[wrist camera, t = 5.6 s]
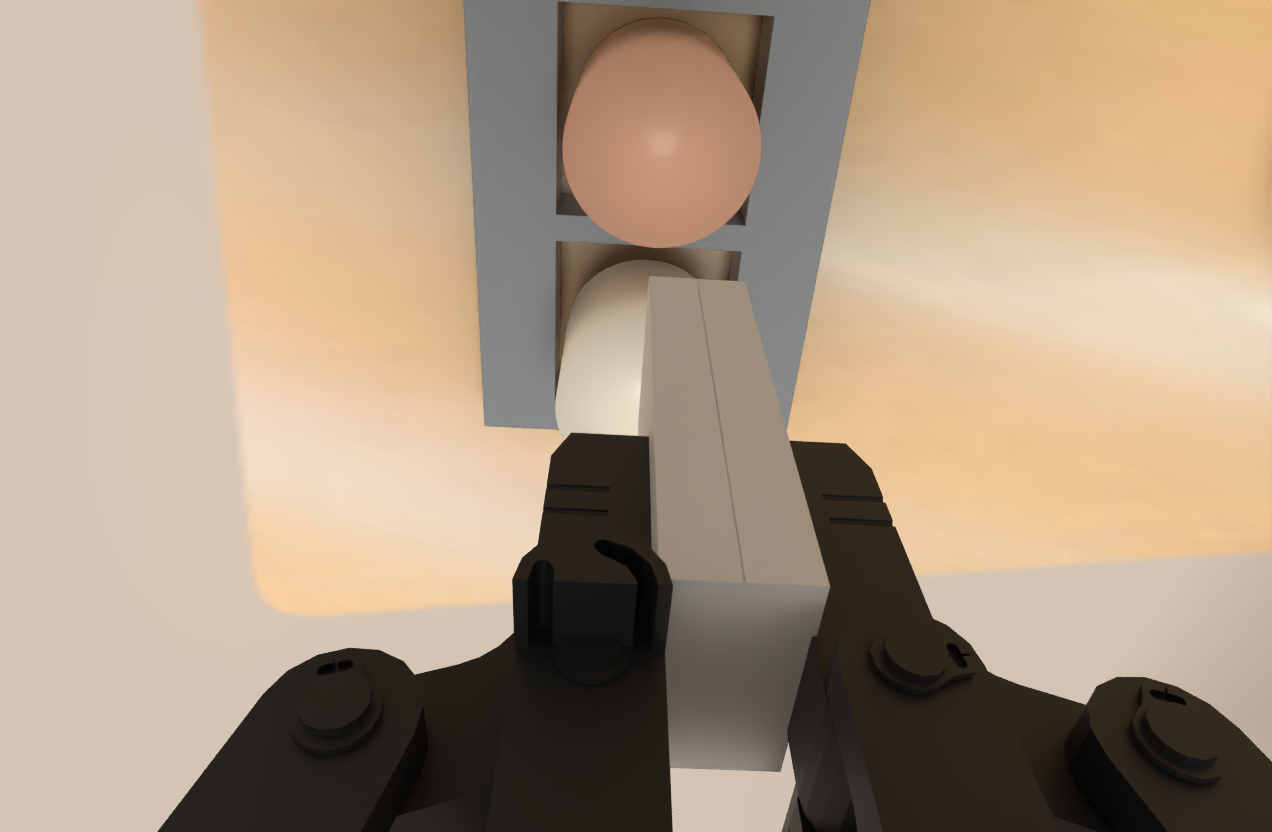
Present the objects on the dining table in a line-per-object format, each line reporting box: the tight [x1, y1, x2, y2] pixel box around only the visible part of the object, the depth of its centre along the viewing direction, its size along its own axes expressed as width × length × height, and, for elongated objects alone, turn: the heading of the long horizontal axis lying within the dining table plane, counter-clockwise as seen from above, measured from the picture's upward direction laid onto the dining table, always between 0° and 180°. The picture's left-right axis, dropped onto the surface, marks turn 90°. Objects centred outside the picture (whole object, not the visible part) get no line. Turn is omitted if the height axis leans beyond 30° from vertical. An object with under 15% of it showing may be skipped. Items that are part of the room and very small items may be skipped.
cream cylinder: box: [555, 260, 696, 440], centre depth 29 cm, size 6×6×6 cm
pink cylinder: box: [562, 19, 761, 248], centre depth 27 cm, size 6×6×6 cm
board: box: [464, 0, 871, 431], centre depth 29 cm, size 26×13×2 cm, turn 177°
